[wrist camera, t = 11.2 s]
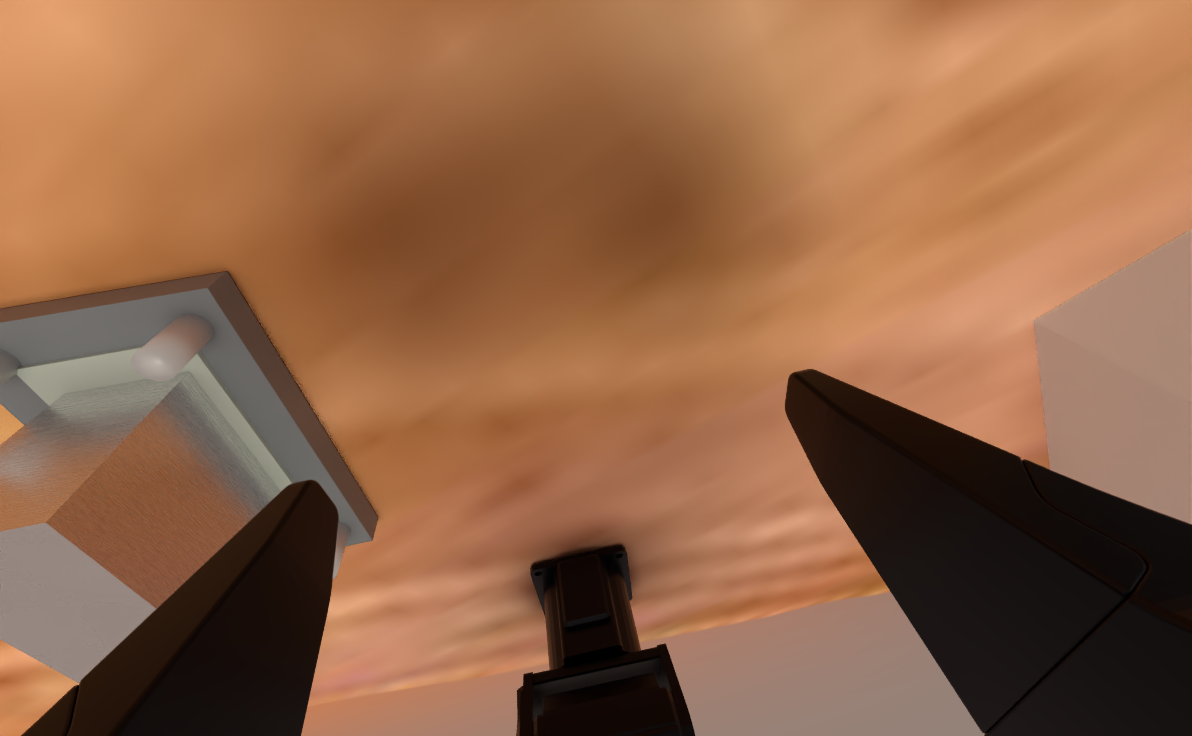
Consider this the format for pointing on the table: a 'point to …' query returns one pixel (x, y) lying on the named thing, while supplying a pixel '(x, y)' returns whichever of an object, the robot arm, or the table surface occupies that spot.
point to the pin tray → (173, 345)
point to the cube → (1124, 382)
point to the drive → (115, 513)
